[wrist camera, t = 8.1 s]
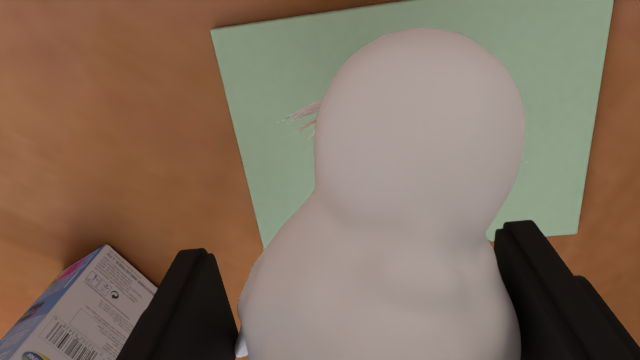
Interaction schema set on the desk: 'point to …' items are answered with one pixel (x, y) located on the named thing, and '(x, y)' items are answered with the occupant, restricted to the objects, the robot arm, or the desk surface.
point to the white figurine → (396, 213)
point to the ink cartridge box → (82, 312)
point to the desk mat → (415, 11)
